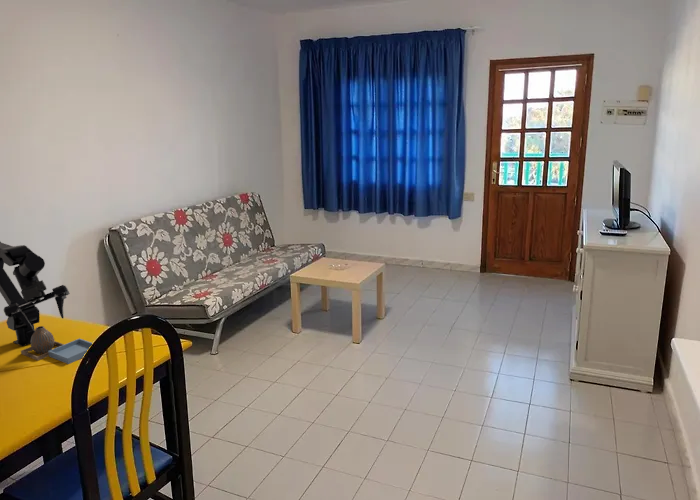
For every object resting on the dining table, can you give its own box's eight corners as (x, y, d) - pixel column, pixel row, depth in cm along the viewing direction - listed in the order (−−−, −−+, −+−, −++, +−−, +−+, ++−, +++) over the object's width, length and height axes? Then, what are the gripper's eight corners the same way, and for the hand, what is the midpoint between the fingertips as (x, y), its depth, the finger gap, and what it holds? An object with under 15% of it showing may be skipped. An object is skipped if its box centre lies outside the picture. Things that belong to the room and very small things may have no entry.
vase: (45, 356, 172) (40, 332, 170) (27, 355, 173) (22, 331, 171) (60, 347, 179) (56, 323, 176) (43, 346, 180) (38, 322, 178)
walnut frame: (21, 354, 174) (20, 350, 174) (50, 342, 183) (50, 339, 182) (37, 360, 169) (37, 357, 169) (67, 348, 178) (66, 345, 177)
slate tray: (49, 356, 172) (48, 351, 172) (80, 343, 181) (79, 338, 181) (68, 364, 166) (67, 358, 166) (99, 350, 176) (98, 344, 175)
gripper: (-10, 289, 160) (11, 335, 159) (54, 265, 168) (74, 309, 167) (-1, 294, 170) (19, 337, 169) (60, 272, 178) (78, 313, 177)
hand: (48, 324), depth 170 cm, fingers open, 9 cm apart
